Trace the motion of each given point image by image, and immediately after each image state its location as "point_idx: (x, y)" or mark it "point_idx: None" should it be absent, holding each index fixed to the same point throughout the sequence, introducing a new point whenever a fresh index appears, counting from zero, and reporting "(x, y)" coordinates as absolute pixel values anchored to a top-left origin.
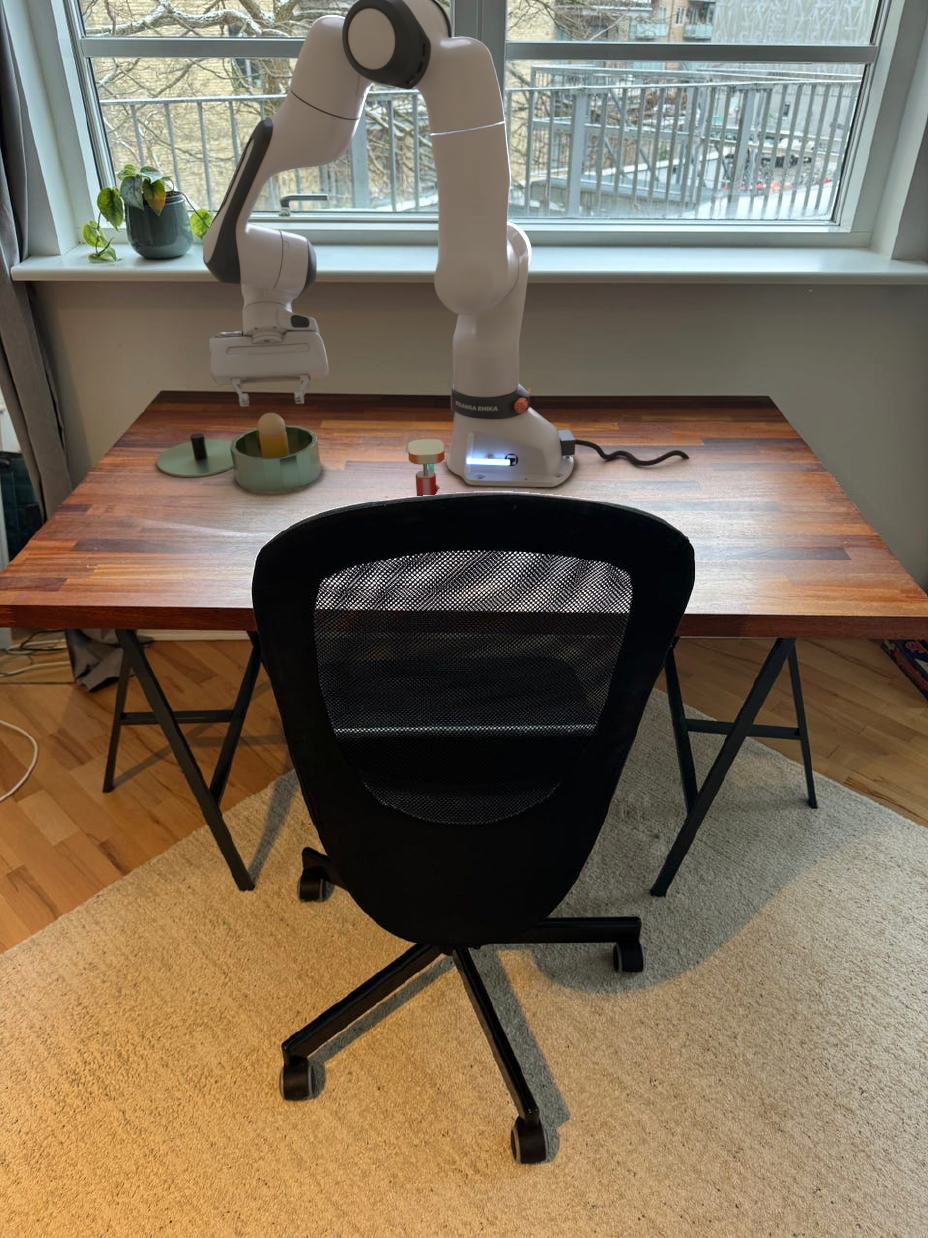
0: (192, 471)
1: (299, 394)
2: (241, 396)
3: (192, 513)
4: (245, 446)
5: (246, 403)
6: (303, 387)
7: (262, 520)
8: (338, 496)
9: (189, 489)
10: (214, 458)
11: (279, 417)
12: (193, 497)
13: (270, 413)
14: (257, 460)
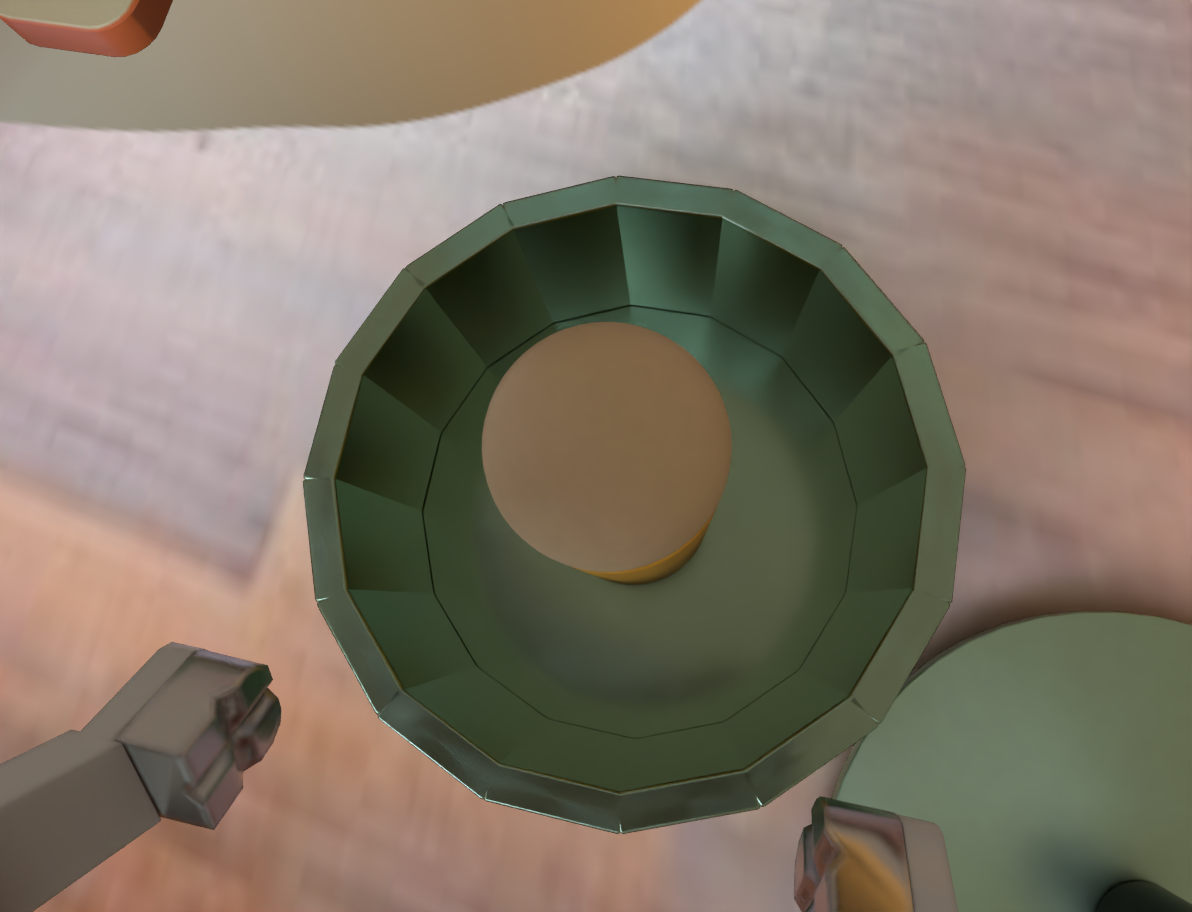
0: (1182, 673)
1: (161, 694)
2: (921, 896)
3: (1114, 210)
4: (828, 679)
5: (839, 802)
6: (34, 757)
7: (762, 65)
8: (393, 200)
9: (1163, 501)
10: (1039, 845)
11: (509, 396)
12: (1127, 390)
13: (583, 419)
14: (763, 208)
